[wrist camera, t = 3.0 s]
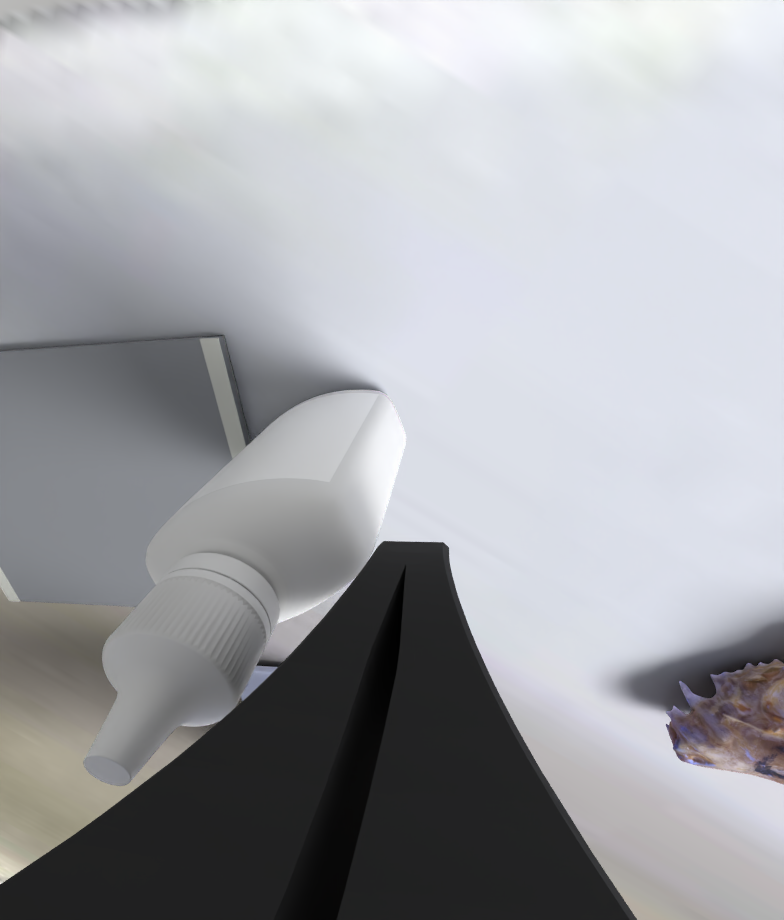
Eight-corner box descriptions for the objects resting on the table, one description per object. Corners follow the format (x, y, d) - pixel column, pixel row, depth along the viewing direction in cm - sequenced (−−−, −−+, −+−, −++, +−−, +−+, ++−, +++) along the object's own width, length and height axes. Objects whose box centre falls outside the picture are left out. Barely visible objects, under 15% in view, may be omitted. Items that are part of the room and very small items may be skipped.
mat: (291, 608, 21) (288, 614, 21) (16, 595, 24) (8, 601, 23) (223, 335, 16) (218, 337, 15) (-126, 359, 18) (-139, 361, 18)
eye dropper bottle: (263, 368, 16) (-141, 618, 5) (414, 393, 15) (306, 719, 5) (265, 472, 18) (-26, 805, 7) (399, 496, 17) (298, 888, 7)
